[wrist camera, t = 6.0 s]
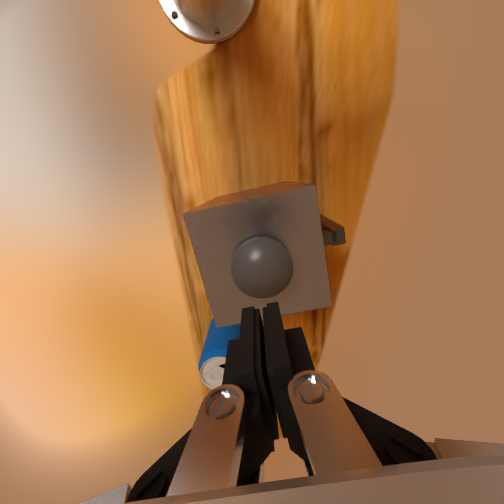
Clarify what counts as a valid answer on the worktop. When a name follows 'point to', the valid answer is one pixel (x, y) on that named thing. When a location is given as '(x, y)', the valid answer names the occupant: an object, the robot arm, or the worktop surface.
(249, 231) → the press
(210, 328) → the beverage can
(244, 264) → the plunger
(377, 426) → the robot arm
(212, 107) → the worktop surface
